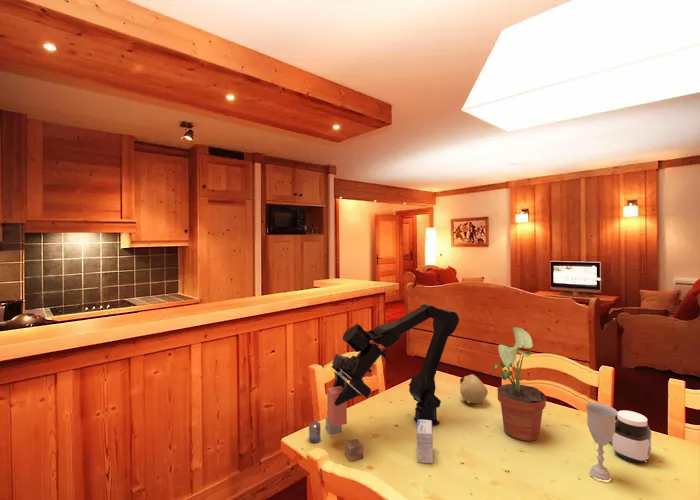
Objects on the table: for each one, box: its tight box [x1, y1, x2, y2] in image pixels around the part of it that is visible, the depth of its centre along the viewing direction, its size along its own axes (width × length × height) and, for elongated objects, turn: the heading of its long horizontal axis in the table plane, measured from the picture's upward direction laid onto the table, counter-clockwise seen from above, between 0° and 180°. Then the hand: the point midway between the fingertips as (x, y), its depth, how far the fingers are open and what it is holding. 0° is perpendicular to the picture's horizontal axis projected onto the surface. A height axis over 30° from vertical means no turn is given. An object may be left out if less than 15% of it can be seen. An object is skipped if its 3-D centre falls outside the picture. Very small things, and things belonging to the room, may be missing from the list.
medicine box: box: [416, 420, 434, 464], centre depth 106 cm, size 8×4×9 cm, turn 168°
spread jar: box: [609, 409, 652, 464], centre depth 106 cm, size 12×11×12 cm
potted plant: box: [493, 326, 547, 442], centre depth 116 cm, size 16×15×35 cm
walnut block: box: [344, 438, 364, 463], centre depth 105 cm, size 4×4×4 cm
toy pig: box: [459, 373, 489, 404], centre depth 140 cm, size 10×12×11 cm
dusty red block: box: [326, 386, 348, 427], centre depth 112 cm, size 4×4×10 cm
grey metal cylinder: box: [308, 421, 322, 444], centre depth 114 cm, size 4×4×5 cm
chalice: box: [584, 402, 618, 480], centre depth 95 cm, size 7×7×18 cm
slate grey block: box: [325, 416, 343, 436], centre depth 120 cm, size 4×4×4 cm
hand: (332, 401), depth 111 cm, fingers closed on dusty red block, 4 cm apart
